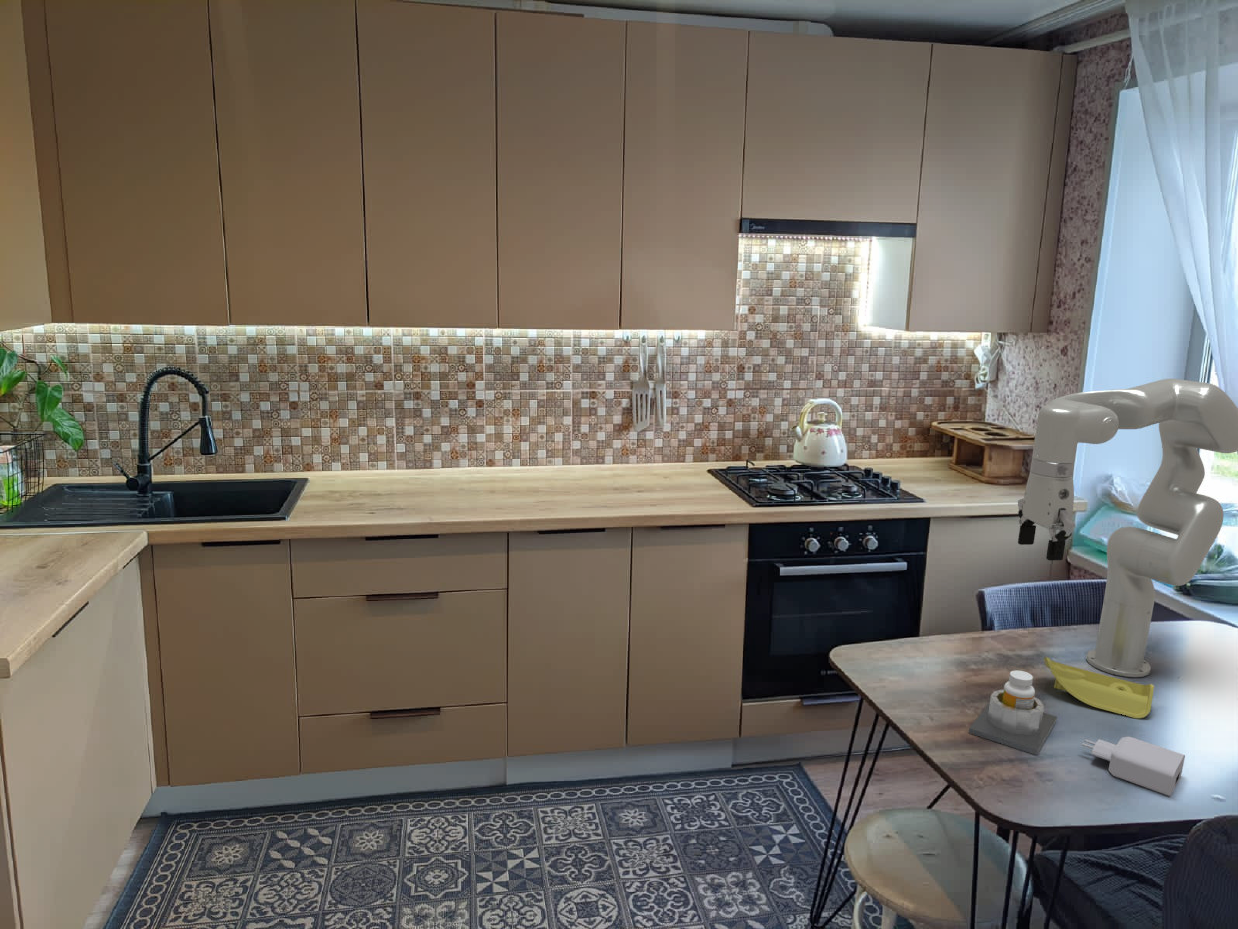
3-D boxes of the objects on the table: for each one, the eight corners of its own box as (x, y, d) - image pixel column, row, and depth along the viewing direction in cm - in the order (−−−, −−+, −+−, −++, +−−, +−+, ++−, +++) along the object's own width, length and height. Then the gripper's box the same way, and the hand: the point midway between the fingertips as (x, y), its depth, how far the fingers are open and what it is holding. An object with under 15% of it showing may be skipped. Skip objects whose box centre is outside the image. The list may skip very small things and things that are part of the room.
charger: (1088, 745, 167) (1181, 777, 157) (1073, 764, 160) (1169, 799, 151) (1092, 721, 166) (1186, 752, 156) (1077, 740, 159) (1174, 773, 150)
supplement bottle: (996, 713, 175) (1002, 667, 173) (1025, 715, 174) (1031, 669, 172) (1004, 727, 170) (1010, 680, 167) (1034, 730, 169) (1041, 682, 167)
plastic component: (1145, 686, 186) (1155, 684, 177) (1139, 721, 185) (1148, 721, 176) (1042, 659, 194) (1046, 656, 185) (1035, 692, 193) (1039, 691, 184)
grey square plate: (992, 702, 182) (995, 676, 181) (1056, 721, 175) (1060, 695, 174) (968, 733, 169) (972, 706, 168) (1036, 755, 162) (1040, 727, 161)
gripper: (1097, 479, 169) (1084, 566, 172) (1043, 459, 185) (1031, 538, 189) (1061, 479, 168) (1048, 566, 171) (1009, 458, 184) (998, 538, 188)
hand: (1039, 551), depth 180 cm, fingers open, 9 cm apart
